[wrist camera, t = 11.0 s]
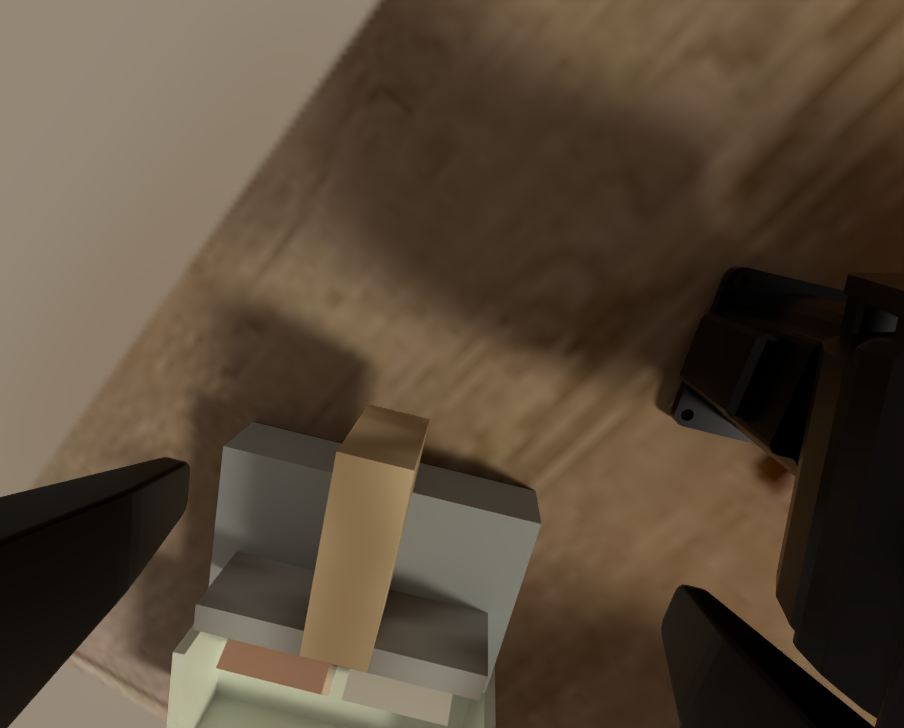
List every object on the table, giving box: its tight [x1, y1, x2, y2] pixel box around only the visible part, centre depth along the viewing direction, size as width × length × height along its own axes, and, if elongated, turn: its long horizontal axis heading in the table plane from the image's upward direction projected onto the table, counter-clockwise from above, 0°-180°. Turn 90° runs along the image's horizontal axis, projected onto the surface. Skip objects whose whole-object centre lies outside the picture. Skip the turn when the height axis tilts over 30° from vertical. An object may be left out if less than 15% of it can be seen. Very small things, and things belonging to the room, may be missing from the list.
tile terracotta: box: [216, 638, 338, 697], centre depth 22 cm, size 4×4×2 cm
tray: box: [167, 624, 496, 728], centre depth 23 cm, size 14×7×4 cm, turn 77°
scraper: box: [193, 404, 488, 701], centre depth 18 cm, size 11×9×4 cm
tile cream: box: [342, 669, 453, 726], centre depth 22 cm, size 4×4×2 cm
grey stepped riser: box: [209, 422, 541, 693], centre depth 22 cm, size 13×9×2 cm
